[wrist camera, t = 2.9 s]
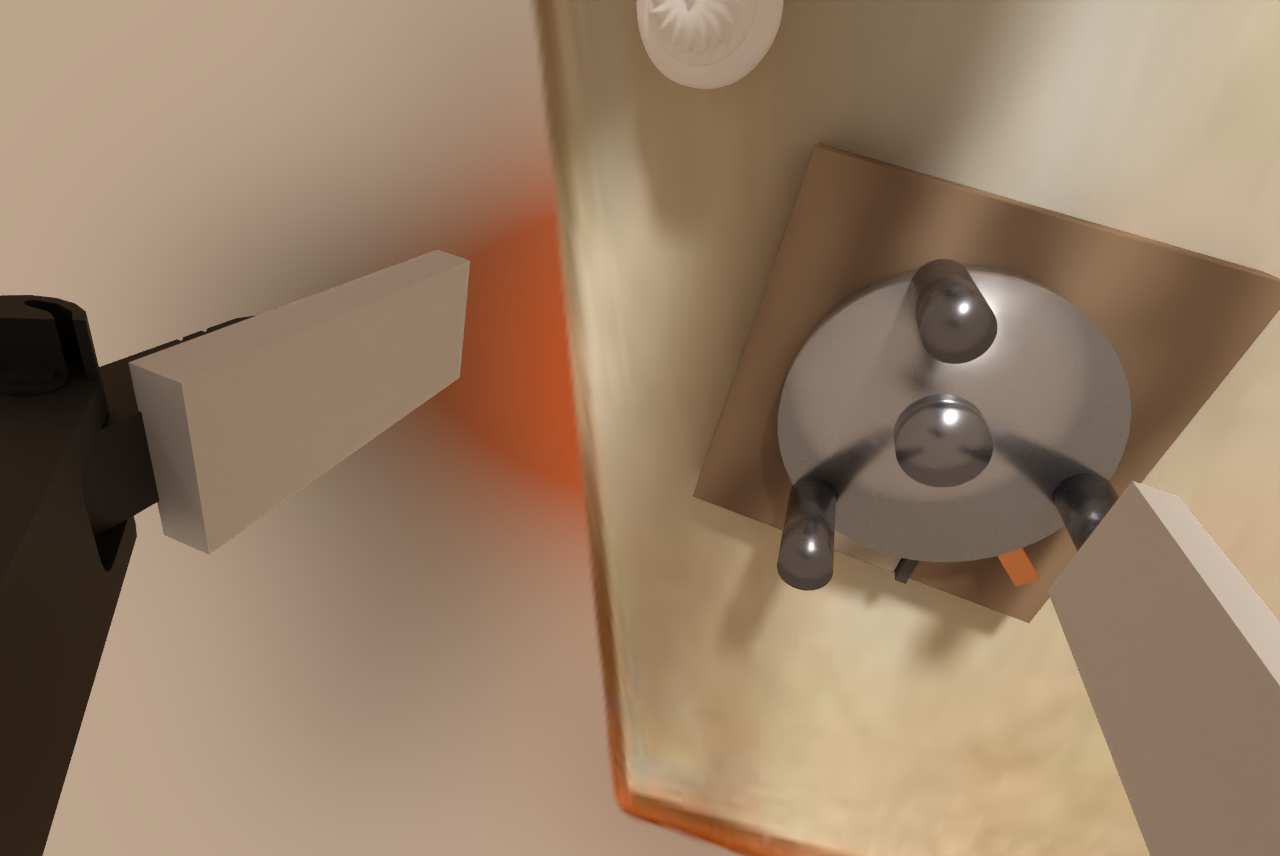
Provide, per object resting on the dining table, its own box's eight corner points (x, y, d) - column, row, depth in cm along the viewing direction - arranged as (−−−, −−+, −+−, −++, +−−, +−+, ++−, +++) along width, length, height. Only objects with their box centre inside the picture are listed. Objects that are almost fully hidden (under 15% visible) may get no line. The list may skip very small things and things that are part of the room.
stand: (701, 475, 41) (689, 503, 38) (817, 143, 31) (813, 148, 28) (1019, 593, 38) (1032, 633, 35) (1264, 271, 28) (1309, 292, 25)
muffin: (725, 119, 31) (695, 125, 25) (632, 27, 31) (579, 12, 25) (821, -1, 28) (812, -26, 22) (720, -106, 27) (682, -161, 21)
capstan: (744, 480, 37) (718, 568, 30) (847, 219, 29) (844, 258, 22) (1020, 582, 35) (1060, 702, 28) (1211, 330, 27) (1331, 410, 20)
